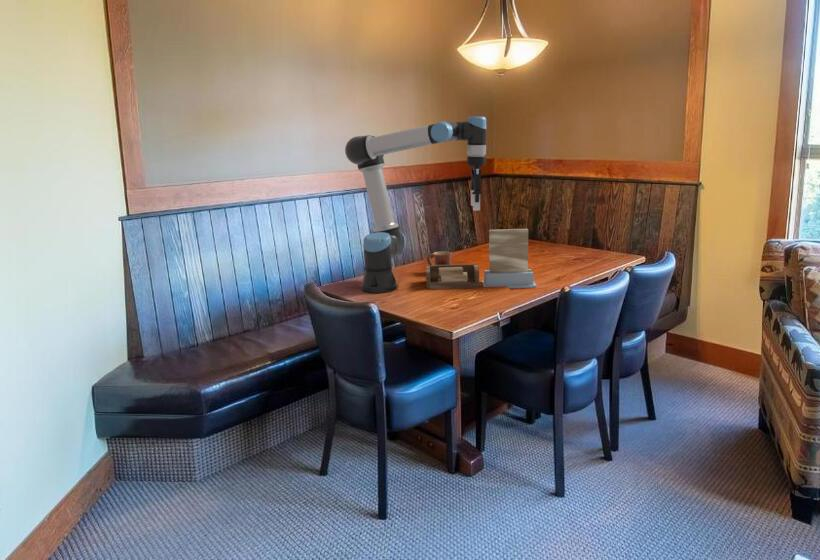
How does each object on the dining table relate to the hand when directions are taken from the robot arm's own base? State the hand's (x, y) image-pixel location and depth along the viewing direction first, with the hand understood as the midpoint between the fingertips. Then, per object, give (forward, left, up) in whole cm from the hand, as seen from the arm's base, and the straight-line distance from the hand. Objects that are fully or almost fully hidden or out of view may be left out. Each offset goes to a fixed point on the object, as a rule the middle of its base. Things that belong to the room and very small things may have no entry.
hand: (475, 208), depth 254 cm
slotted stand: (+7, +12, -33) cm, 36 cm away
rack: (-5, -8, -33) cm, 35 cm away
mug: (-26, -1, -34) cm, 43 cm away
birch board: (+7, +12, -32) cm, 35 cm away
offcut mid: (-3, -9, -30) cm, 31 cm away
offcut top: (-4, -10, -27) cm, 29 cm away
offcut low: (-4, -10, -32) cm, 34 cm away
